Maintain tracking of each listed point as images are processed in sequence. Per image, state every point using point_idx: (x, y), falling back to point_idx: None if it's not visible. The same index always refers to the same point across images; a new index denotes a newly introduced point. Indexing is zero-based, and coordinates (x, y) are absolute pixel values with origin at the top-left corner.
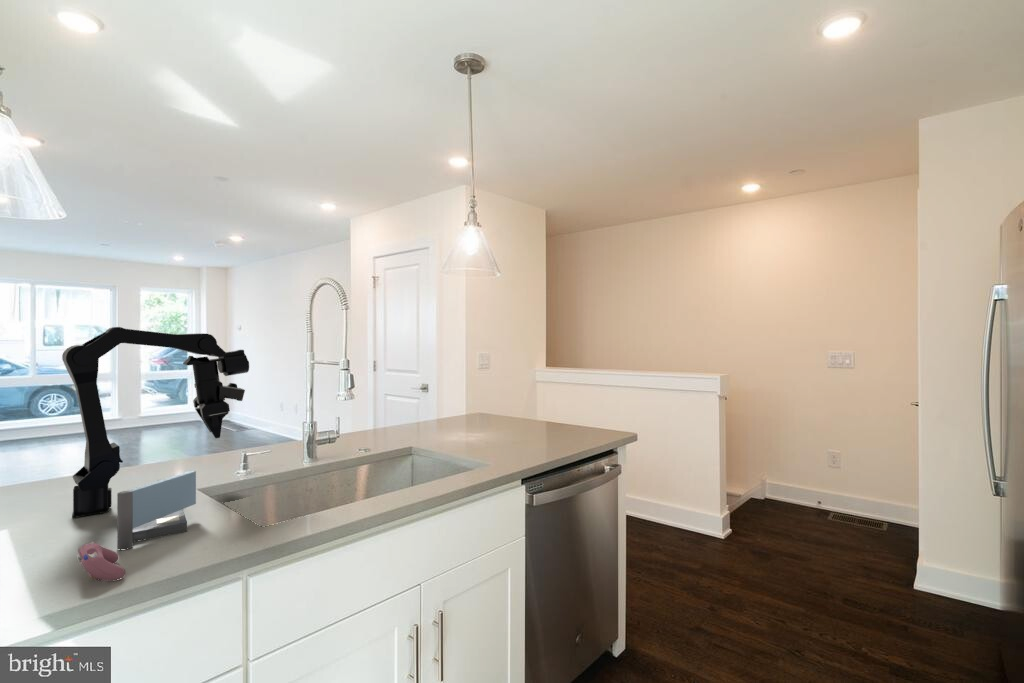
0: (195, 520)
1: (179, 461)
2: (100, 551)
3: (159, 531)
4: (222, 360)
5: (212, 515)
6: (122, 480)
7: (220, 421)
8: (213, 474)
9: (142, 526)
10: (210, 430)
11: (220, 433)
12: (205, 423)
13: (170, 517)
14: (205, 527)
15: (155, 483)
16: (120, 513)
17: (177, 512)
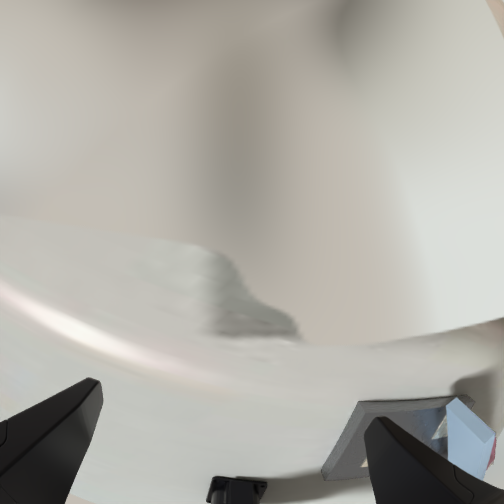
0: (443, 383)
1: None
2: (489, 462)
3: None
4: None
5: (448, 356)
6: (28, 398)
7: (477, 490)
8: (74, 236)
9: (434, 449)
10: (381, 494)
11: (405, 431)
12: (73, 473)
13: (444, 423)
14: (475, 371)
15: (483, 474)
16: None
17: (430, 416)
